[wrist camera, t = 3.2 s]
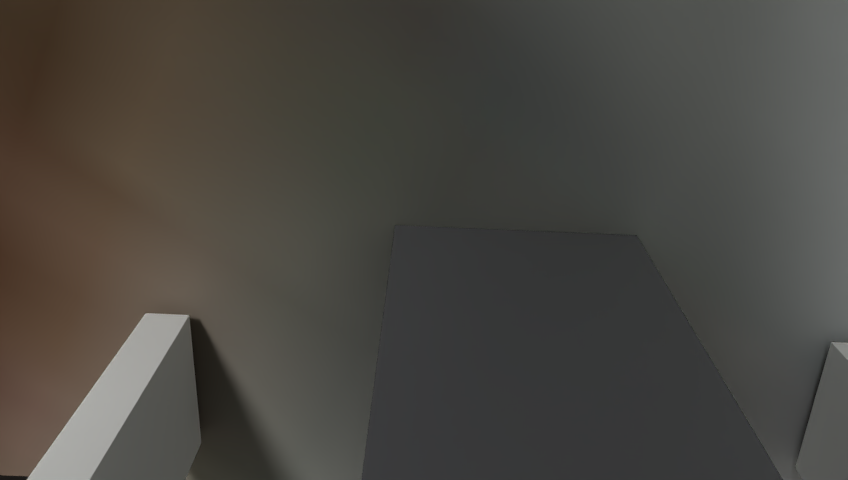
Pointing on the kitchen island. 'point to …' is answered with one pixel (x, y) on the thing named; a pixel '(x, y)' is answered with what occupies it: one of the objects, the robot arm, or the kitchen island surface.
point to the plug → (545, 366)
